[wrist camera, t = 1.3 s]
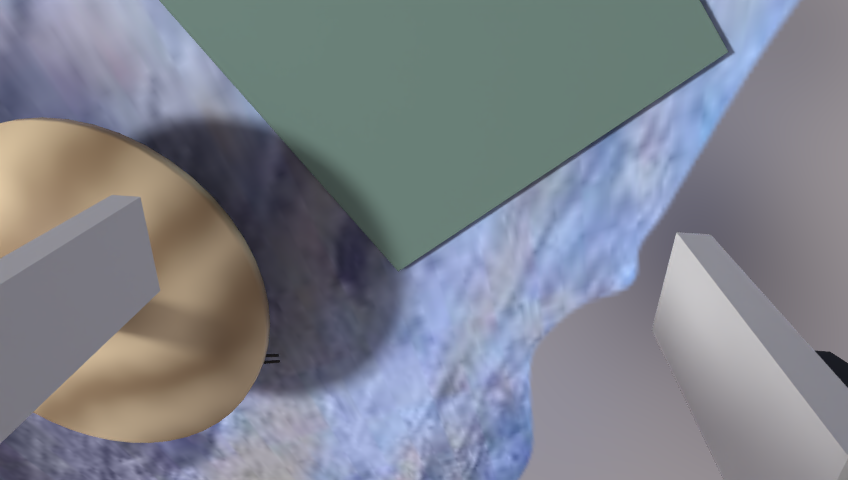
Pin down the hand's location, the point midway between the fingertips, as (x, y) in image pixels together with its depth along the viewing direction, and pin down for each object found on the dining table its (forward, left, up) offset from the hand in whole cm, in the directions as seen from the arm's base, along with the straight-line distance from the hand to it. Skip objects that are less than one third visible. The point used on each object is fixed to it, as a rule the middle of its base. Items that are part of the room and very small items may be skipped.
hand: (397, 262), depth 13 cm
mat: (-5, +1, -27) cm, 28 cm away
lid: (-5, -29, -19) cm, 35 cm away
